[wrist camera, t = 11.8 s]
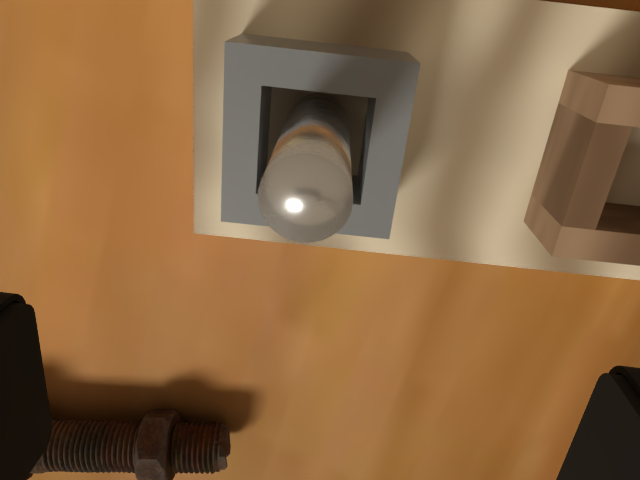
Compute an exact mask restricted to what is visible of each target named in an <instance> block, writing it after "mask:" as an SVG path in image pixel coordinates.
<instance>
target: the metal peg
mask: <svg viewBox="0 0 640 480" xmlns="http://www.w3.org/2000/svg"><path fill="white" fill-rule="evenodd" d="M258 205H259V209H260V212H261V214H262V216H263V218H264V220H265V221H266V223H267V224H268V225H269V227H270V228H272V229H273V230H274V231H275V232H276V233H278V234H279V235H281V236H282V237H284V238H287V239H289V240H292V241H296V242H303V243H310V242H317V241H321V240H324V239H327V238H329V237H331V236H332V235H334V234H335V233H337V232H338V231H339V230H340V229H341V228H342V227H343V226H344V225H345V223H346V222H347V220H348V218H349V216H350V214H351V211H352V206H353V187H352V170H351V154H350V138H349V122H348V116H347V113H346V111H345V109H344V108H343V106H342V105H341V104H340V103H339V102H338V101H337V100H336V99H334V98H333V97H330V96H328V95H325V94H310V95H307V96H305V97H303V98H301V99H300V100H298V101H297V102H296V103H295V104H294V105H293V107H292V108H291V110H290V112H289V114H288V117H287V119H286V122H285V124H284V126H283V129H282V131H281V134H280V136H279V138H278V141H277V143H276V146H275V148H274V150H273V153H272V155H271V158H270V160H269V162H268V165H267V167H266V170H265V172H264V175H263V177H262V179H261V182H260V185H259V188H258Z"/></svg>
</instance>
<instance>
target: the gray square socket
mask: <svg viewBox="0 0 640 480" xmlns="http://www.w3.org/2000/svg"><path fill="white" fill-rule="evenodd" d="M419 69H420V62H419V61H417V60H416V59H415V58H414V57H413V56H412V55H411V54H410V53H408V52H403V51H394V50H385V49H376V48H367V47H358V46H349V45H340V44H331V43H322V42H313V41H304V40H295V39H287V38H278V37H269V36H260V35H251V34H240V35H237V36H235V37H233V38H231V39H229V40H227V41H225V48H224V94H223V140H222V186H221V222H230V223H240V224H249V225H259V226H268V227H269V225H268V224H267V223H266V221H265V220H264V218H263V216H262V214H261V212H260V209H259V205H258V188H259V185H260V182H261V179H262V177H263V175H264V172H265V170H266V167H267V157H268V141H269V124H270V108H271V91H272V87H279V88H288V89H297V90H306V91H315V92H324V93H333V94H342V95H351V96H360V97H368V105H367V112H366V119H365V126H364V133H363V140H362V147H361V155H360V162H359V169H358V176H357V175H352V187H353V206H352V211H351V214H350V216H349V218H348V220H347V222H346V223H345V225H344V226H343V227H342V228H341V229H340V230H339V231H338V232H337V233H335V234H344V235H353V236H363V237H372V238H382V239H389V238H390V232H391V227H392V221H393V216H394V210H395V204H396V199H397V193H398V187H399V182H400V176H401V170H402V165H403V159H404V154H405V148H406V142H407V137H408V131H409V125H410V120H411V114H412V108H413V103H414V97H415V92H416V86H417V80H418V75H419Z"/></svg>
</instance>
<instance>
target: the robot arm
mask: <svg viewBox="0 0 640 480" xmlns="http://www.w3.org/2000/svg"><path fill="white" fill-rule="evenodd" d="M51 435H52V422H51V415H50V409H49V402H48V396H47V389H46V383H45V376H44V369H43V363H42V356H41V350H40V343H39V337H38V330H37V324H36V317H35V312H34V309H33V307H32V306H31V305H29V304H26V302H25V300H24V298H23V297H22V296H21V295H19V294H12V293H4V292H0V480H26V478H27V477H28V475H29V474H30V472H31V471H32V469H33V468H34V466H35V465H36V463H37V462H38V460H39V459H40V457H41V456H42V455H43V453H44V452H45V450H46V448H47V446H48V444H49V442H50V439H51ZM556 480H640V368H635V367H626V366H615V367H614V368H612V369H611V370H610V372H609V373H604V374H602V375H601V376H600V377H599V379H598V381H597V383H596V385H595V388H594V390H593V393H592V395H591V397H590V400H589V402H588V405H587V407H586V410H585V412H584V414H583V417H582V419H581V422H580V424H579V426H578V429H577V431H576V434H575V436H574V438H573V441H572V443H571V446H570V448H569V450H568V453H567V455H566V458H565V460H564V462H563V465H562V467H561V470H560V472H559V475H558V477H557V479H556Z"/></svg>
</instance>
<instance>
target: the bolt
mask: <svg viewBox="0 0 640 480" xmlns="http://www.w3.org/2000/svg"><path fill="white" fill-rule="evenodd" d="M51 422H52V435H51V439H50V442H49V444H48V446H47V448H46V450H45V452H44V453H43V455H42V456H41V457H40V459H39V460H38V462H37V463H36V465H35V466H34V468H33V469H32V471H31V472H30V474H29V475H28V477H27V478H26V480H27V479H29V478H30V477H32V475H33V473H44V472H52V471H55V472H58V471H65V472H96V473H99V472H103V473H104V472H108V473H110V472H116V471H117V472H121V471H122V472H124V473H125V472H128V473H131V472H133V473H135V474H136V478H137V480H173V478H174V476H175V474H176V473H178V472H179V473H183V472H184V473H188V472H190V473H193V472H195V473H199V471H200V473H202V474H203V473H204V472H206V473H207V474H208V473H209V472H211V473H212V474H213V473H214V472H215V471H216V472H220V470H221V469H222V470H225V469H226V468H227V460H226V457H227V456H228V455H229V454H230V436H229V429H228V428H227V427H226V426H225V424H224V423H222V424H221V425H220V423H219V422H218V423H217V424H215V422H213V423H212V424H211V423H210V422H208V423H207V424H206V423H205V422H203V423H202V424H201V423H200V422H198V423H197V424H196V423H195V422H193V423H192V424H191V423H190V422H187V423H185V422H182V423H181V422H180V415H179V414H178V413H177V412H176V411H175V410H172V409H155V410H152V411H150V412H148V413H147V414H146V415H145V416H144V418H143V420H142V421H141V422H140V421H137V422H135V421H131V422H130V421H126V422H125V421H124V420H123V421H119V420H118V421H109V420H108V421H105V420H102V421H99V420H97V421H95V420H92V421H90V420H86V421H85V420H81V421H80V420H76V421H75V420H55V419H53V418H51Z"/></svg>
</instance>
